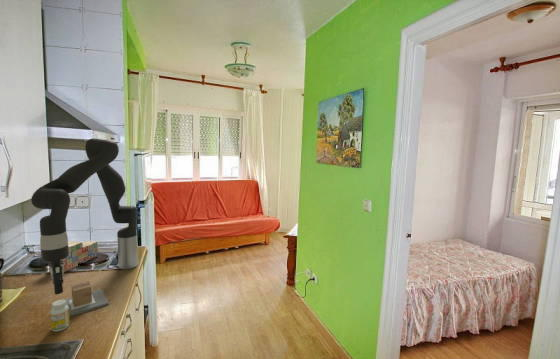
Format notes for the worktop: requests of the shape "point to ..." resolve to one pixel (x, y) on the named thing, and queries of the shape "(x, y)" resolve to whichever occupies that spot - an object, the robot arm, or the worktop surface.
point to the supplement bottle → (59, 315)
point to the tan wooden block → (81, 293)
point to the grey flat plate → (97, 302)
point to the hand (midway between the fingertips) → (57, 288)
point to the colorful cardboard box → (79, 253)
